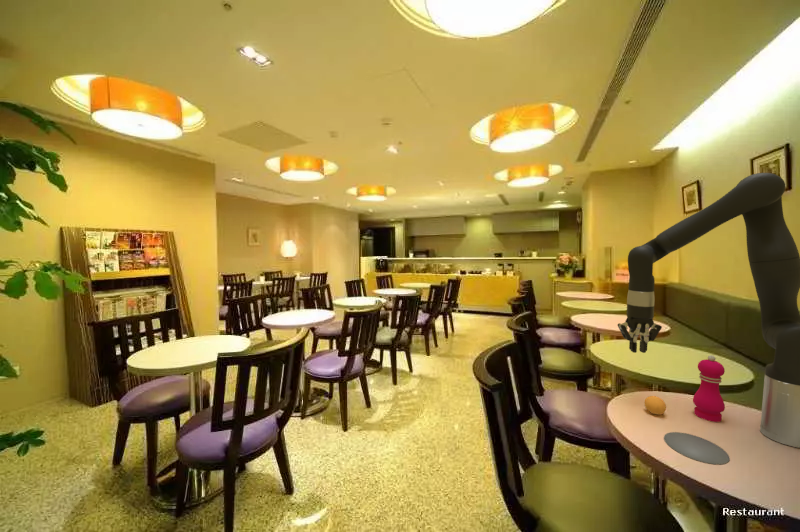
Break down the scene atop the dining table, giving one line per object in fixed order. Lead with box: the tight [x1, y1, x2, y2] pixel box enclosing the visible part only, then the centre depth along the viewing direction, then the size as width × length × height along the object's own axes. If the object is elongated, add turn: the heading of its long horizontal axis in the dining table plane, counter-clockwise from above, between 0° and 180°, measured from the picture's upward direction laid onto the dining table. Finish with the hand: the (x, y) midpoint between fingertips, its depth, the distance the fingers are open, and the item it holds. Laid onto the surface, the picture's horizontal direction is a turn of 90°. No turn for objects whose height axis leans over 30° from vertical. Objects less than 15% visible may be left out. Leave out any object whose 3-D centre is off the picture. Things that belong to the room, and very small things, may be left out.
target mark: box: [663, 431, 730, 465], centre depth 86 cm, size 13×13×1 cm
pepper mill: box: [692, 354, 726, 423], centre depth 99 cm, size 7×7×20 cm
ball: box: [643, 395, 667, 415], centre depth 102 cm, size 6×6×6 cm
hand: (638, 351), depth 110 cm, fingers open, 2 cm apart
